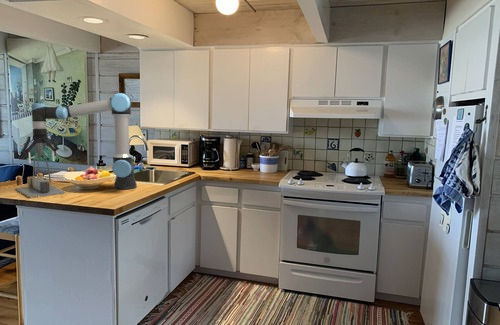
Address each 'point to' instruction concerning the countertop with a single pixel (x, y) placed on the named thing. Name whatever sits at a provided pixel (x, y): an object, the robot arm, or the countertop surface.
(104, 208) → the countertop surface
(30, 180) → the pivot block
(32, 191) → the cutting board
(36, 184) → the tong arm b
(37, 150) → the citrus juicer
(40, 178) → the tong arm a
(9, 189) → the countertop surface
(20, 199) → the countertop surface
